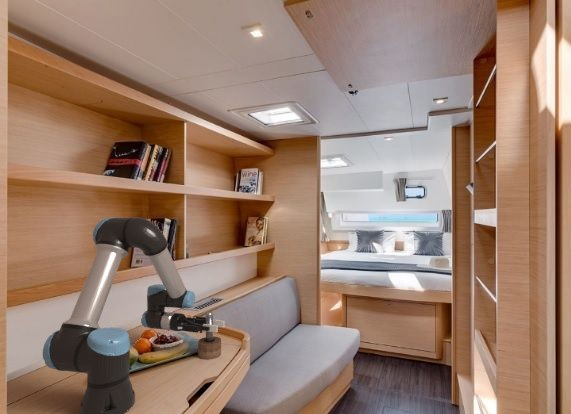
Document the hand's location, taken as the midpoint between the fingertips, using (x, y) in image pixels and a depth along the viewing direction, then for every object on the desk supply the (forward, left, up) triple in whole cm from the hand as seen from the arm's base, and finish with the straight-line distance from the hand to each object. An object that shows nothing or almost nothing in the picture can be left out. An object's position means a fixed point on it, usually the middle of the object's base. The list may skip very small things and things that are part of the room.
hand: (220, 326), depth 138 cm
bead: (0, +5, -12) cm, 14 cm away
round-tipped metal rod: (0, +5, -12) cm, 14 cm away
